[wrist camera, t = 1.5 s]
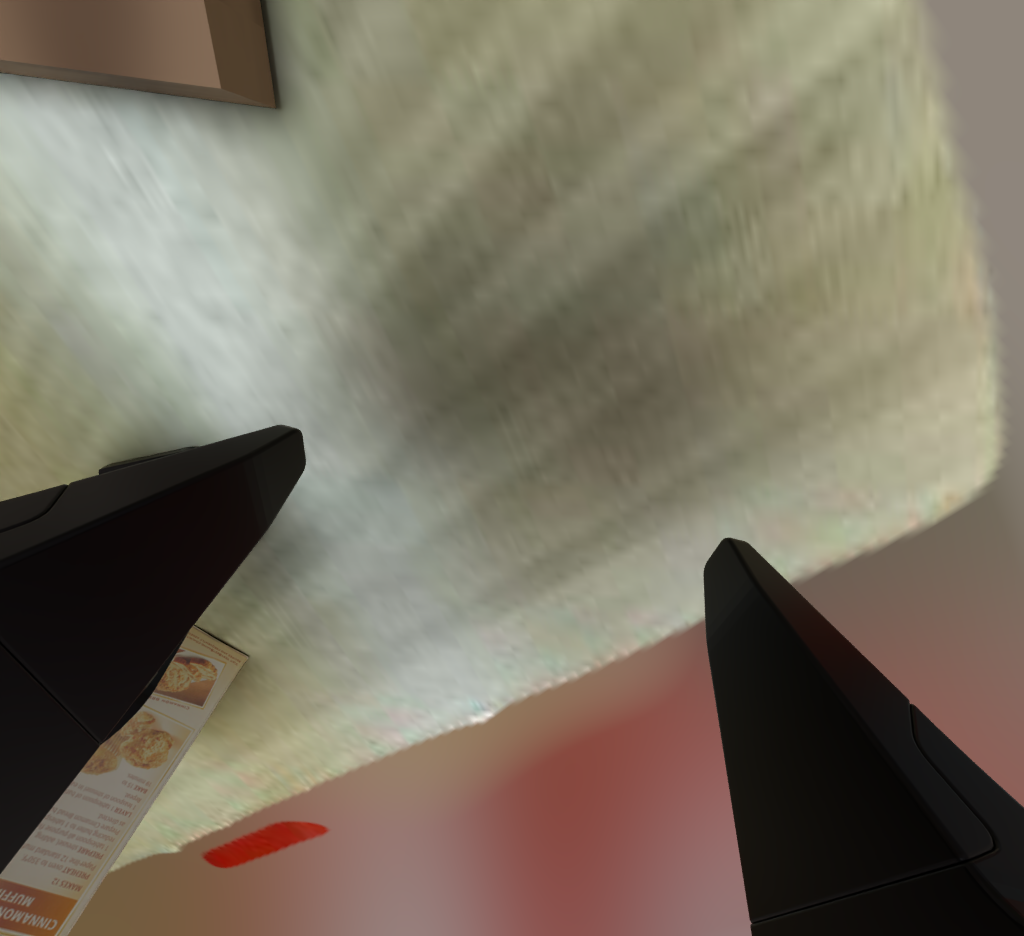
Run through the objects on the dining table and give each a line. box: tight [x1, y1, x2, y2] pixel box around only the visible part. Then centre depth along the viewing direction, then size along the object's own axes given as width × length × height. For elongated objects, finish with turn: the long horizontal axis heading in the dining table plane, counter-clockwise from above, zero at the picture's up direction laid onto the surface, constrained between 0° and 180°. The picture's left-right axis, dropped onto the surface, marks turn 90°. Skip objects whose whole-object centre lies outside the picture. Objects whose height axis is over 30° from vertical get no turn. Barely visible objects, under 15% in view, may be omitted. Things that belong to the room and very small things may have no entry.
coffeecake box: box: [0, 625, 249, 936], centre depth 27 cm, size 15×7×20 cm, turn 132°
